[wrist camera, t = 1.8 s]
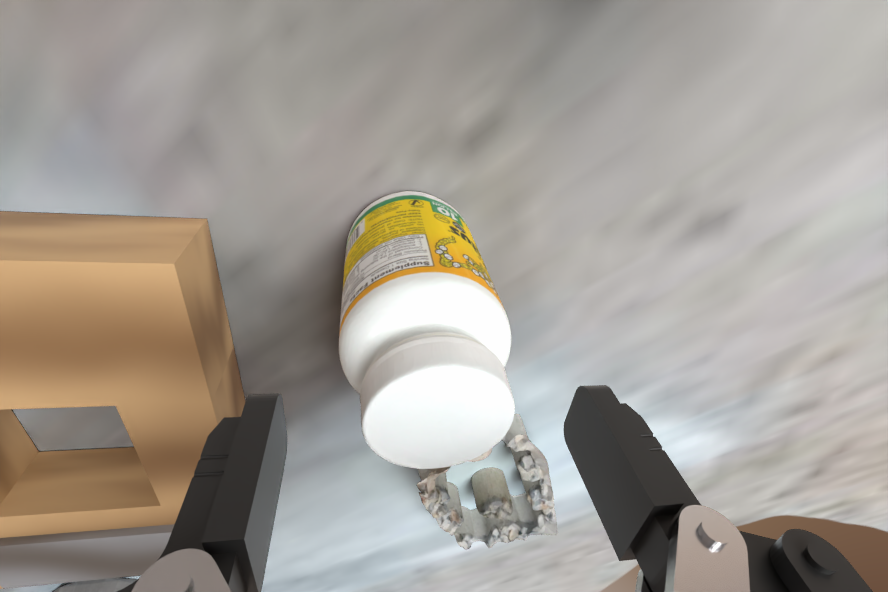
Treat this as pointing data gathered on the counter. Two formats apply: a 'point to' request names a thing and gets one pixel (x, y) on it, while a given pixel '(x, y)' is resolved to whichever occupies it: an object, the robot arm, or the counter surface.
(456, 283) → the supplement bottle
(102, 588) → the coffeepot
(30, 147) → the counter surface
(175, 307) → the jig
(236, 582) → the robot arm
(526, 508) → the egg carton
